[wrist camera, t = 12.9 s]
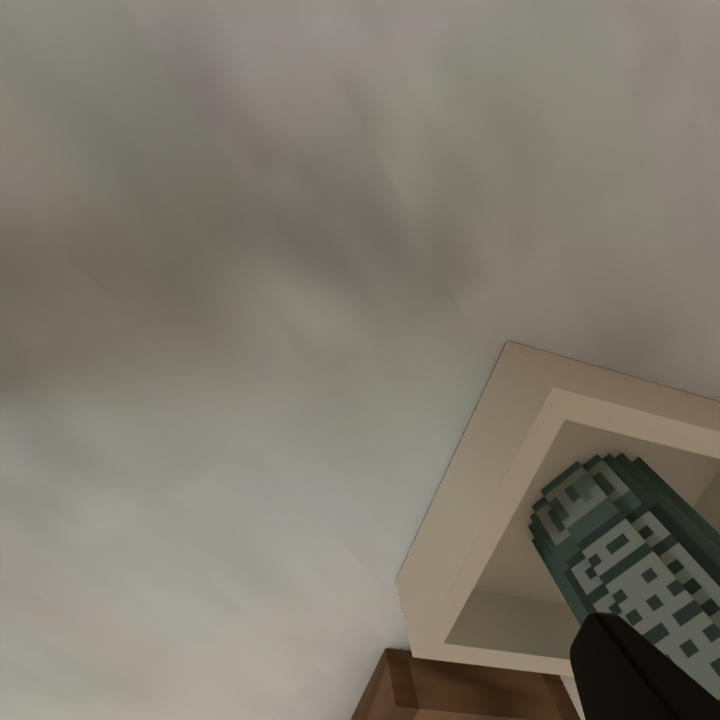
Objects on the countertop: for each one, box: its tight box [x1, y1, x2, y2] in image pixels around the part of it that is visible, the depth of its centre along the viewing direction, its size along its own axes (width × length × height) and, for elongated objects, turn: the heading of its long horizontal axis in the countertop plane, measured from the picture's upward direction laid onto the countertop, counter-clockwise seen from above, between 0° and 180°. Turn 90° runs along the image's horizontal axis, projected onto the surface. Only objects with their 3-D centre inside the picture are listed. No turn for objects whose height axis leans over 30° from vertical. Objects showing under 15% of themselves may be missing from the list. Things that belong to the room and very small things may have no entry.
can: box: [528, 453, 720, 701], centre depth 17 cm, size 6×6×15 cm
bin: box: [395, 341, 720, 677], centre depth 23 cm, size 13×13×4 cm
